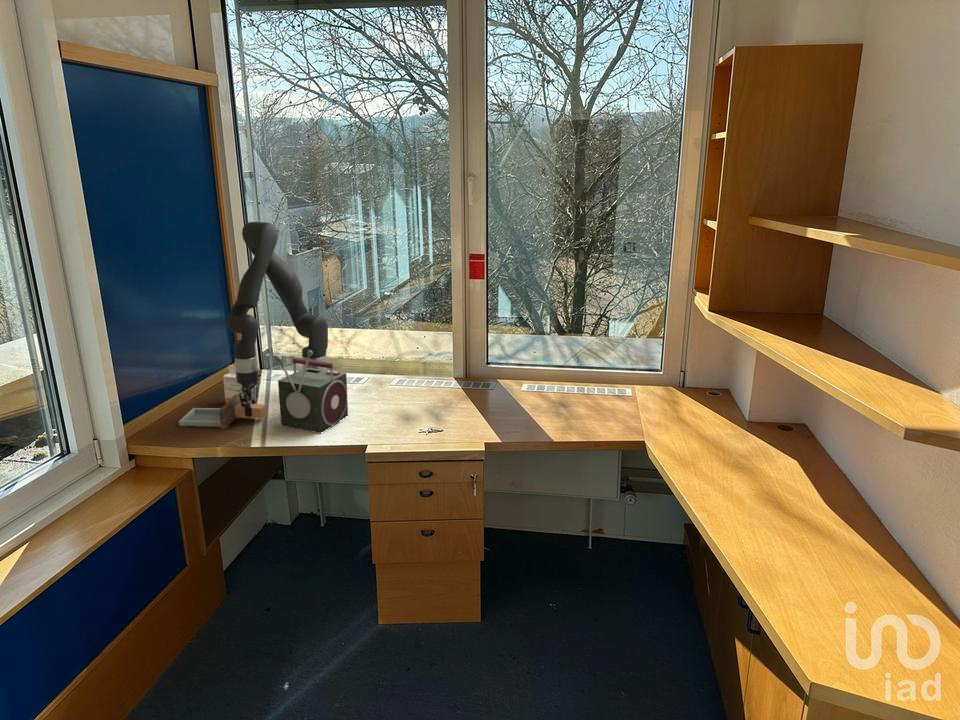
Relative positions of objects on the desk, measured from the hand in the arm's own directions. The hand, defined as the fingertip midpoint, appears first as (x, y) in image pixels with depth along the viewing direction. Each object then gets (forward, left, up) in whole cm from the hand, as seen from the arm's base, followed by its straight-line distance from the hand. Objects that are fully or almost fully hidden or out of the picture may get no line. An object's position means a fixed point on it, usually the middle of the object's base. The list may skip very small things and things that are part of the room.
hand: (250, 413), depth 239 cm
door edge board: (+7, 0, -3) cm, 8 cm away
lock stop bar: (0, 0, -1) cm, 1 cm away
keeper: (+16, 0, -3) cm, 16 cm away
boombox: (-23, 0, -3) cm, 23 cm away
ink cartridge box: (+10, -17, -3) cm, 20 cm away
